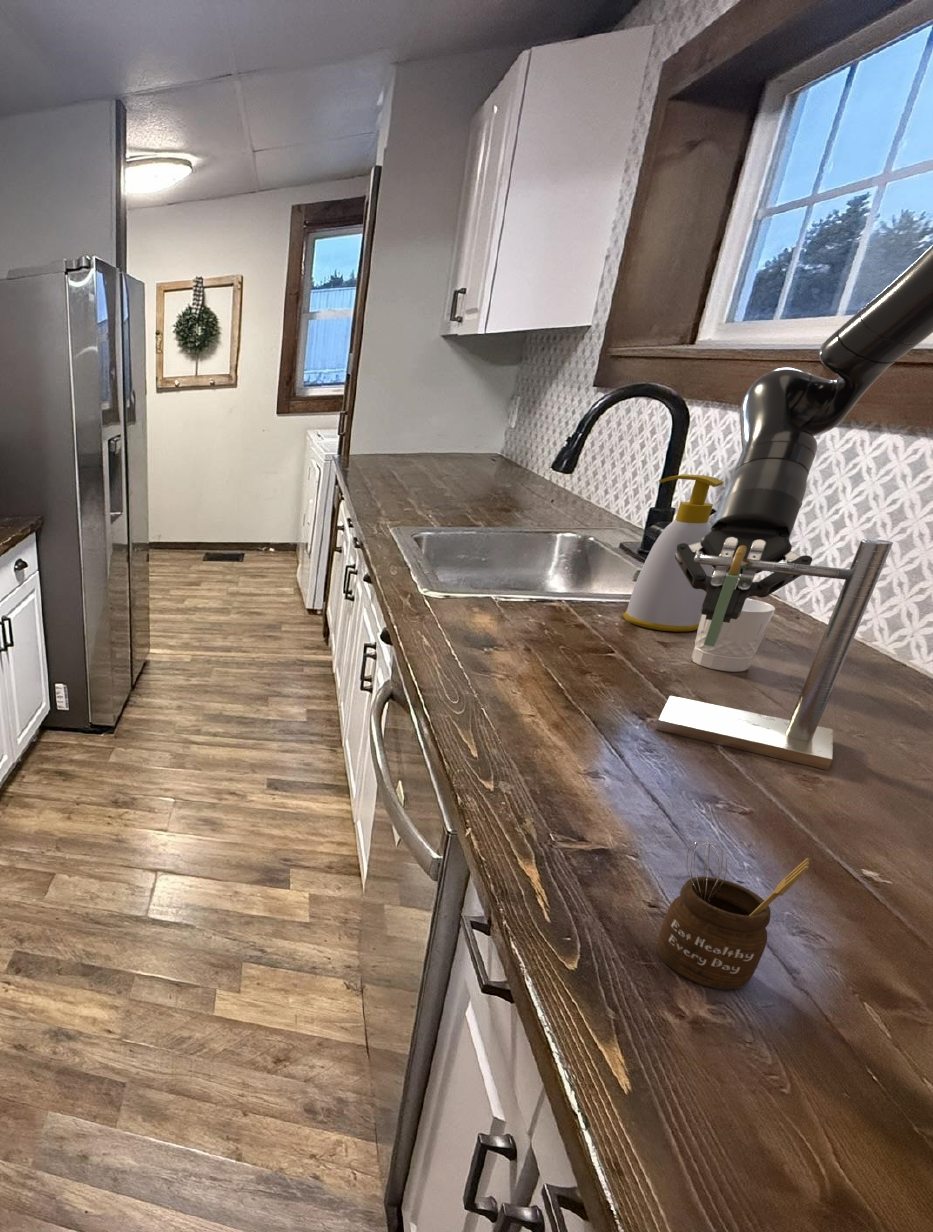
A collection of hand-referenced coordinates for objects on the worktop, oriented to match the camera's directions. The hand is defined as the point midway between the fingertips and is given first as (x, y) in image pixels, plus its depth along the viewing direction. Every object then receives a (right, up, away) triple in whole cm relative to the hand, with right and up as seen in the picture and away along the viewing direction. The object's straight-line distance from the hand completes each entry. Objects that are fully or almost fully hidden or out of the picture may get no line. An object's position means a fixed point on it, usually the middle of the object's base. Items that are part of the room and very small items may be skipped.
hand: (718, 617), depth 89 cm
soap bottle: (+29, +2, +42) cm, 51 cm away
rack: (+5, -15, +4) cm, 16 cm away
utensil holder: (-30, -31, -30) cm, 53 cm away
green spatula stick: (+2, -3, +3) cm, 4 cm away
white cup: (+23, -6, +24) cm, 34 cm away
